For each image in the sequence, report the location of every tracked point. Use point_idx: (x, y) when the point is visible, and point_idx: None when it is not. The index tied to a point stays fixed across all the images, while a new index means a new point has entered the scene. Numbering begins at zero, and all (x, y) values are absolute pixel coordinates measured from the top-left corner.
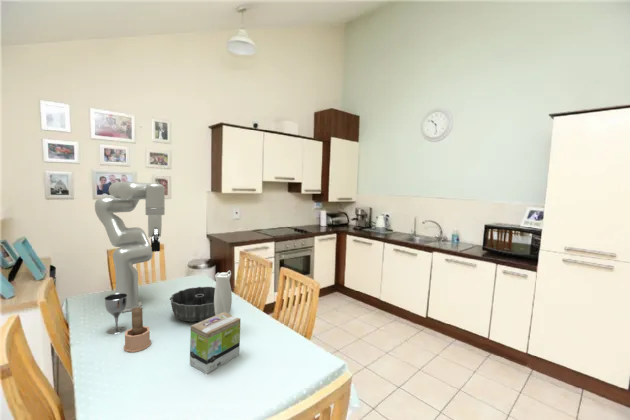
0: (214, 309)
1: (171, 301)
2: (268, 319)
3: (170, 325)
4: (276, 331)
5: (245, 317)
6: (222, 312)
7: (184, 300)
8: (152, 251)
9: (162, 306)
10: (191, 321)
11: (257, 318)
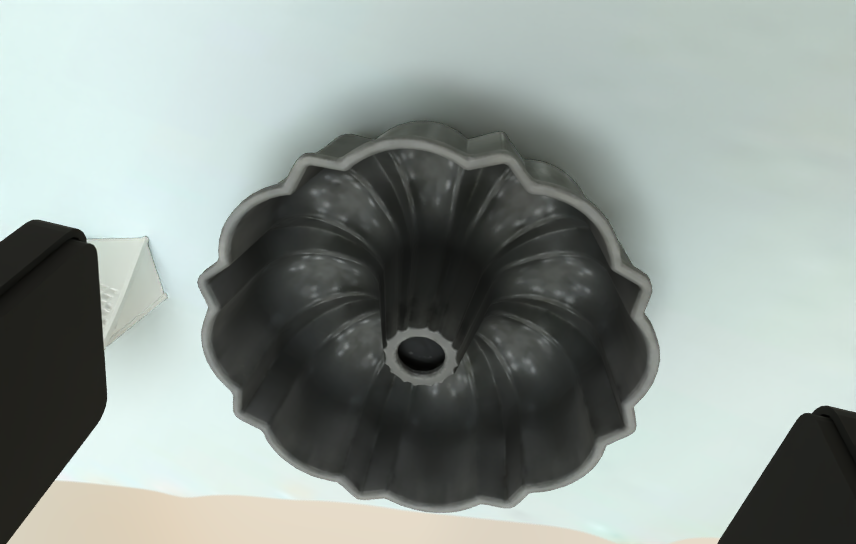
0: (255, 340)
1: (408, 140)
2: (161, 481)
3: (381, 58)
4: None
5: (241, 425)
6: None
7: (609, 267)
8: (47, 233)
9: (798, 119)
10: (312, 184)
11: (198, 456)
